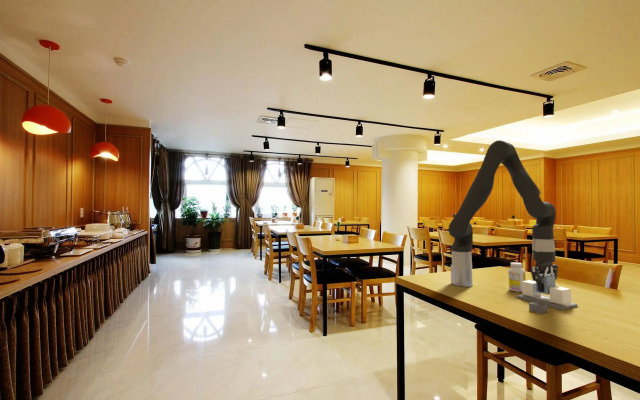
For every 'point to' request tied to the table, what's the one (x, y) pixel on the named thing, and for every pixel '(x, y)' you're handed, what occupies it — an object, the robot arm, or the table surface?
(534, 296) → the din rail
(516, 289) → the supplement bottle
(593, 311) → the table surface
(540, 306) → the dark grey block
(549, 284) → the block
